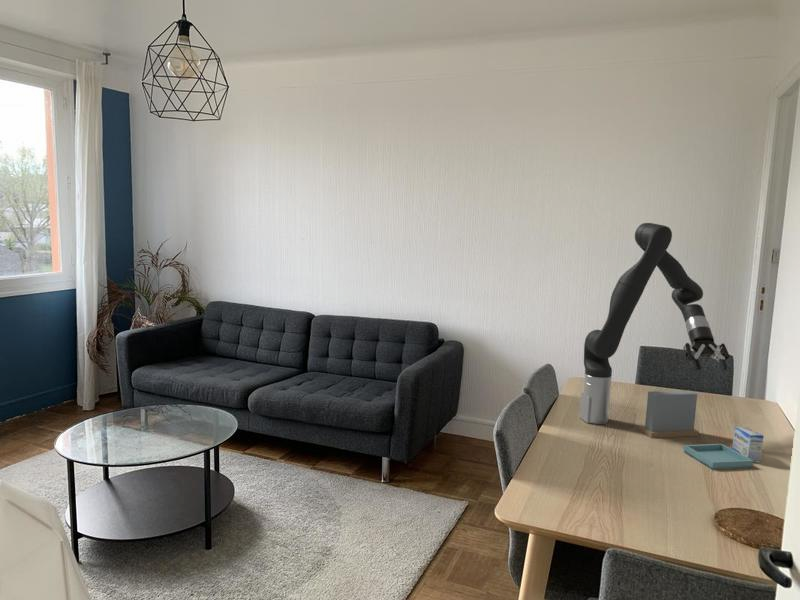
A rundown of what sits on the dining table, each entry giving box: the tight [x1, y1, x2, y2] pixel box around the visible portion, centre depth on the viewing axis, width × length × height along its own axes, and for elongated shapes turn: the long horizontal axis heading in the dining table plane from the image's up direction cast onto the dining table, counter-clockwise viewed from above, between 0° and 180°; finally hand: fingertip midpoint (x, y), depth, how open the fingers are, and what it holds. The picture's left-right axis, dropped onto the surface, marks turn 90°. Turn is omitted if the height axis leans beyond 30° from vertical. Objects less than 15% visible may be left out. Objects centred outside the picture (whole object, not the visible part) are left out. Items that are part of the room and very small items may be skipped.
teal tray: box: [682, 443, 754, 471], centre depth 183 cm, size 14×14×2 cm
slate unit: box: [639, 390, 700, 438], centre depth 205 cm, size 18×7×14 cm, turn 100°
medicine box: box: [731, 426, 764, 463], centre depth 186 cm, size 8×4×9 cm, turn 5°
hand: (711, 370), depth 204 cm, fingers open, 8 cm apart
